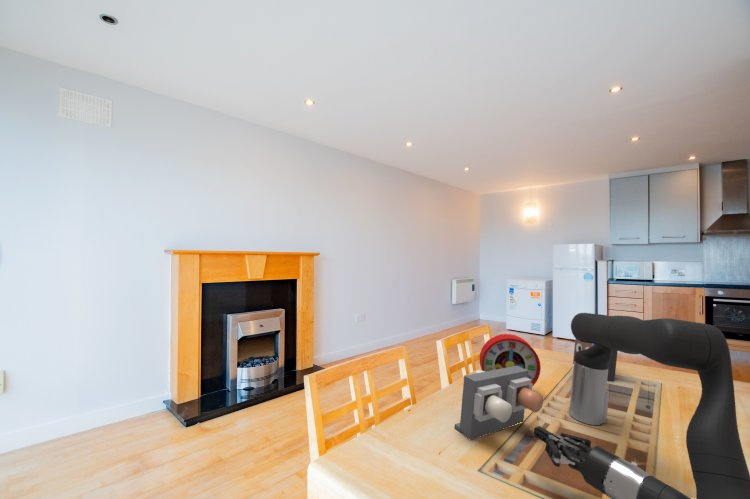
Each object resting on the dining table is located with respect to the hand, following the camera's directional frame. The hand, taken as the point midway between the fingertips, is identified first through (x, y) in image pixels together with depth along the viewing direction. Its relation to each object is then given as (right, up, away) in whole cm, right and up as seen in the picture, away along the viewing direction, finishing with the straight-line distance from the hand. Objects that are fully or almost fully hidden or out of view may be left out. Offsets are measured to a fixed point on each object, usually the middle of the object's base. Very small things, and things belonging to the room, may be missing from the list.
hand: (535, 430), depth 80 cm
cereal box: (+57, -12, +70) cm, 91 cm away
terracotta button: (+6, -2, +16) cm, 17 cm away
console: (-4, -9, +19) cm, 21 cm away
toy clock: (+10, -9, +45) cm, 47 cm away
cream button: (-6, -2, +9) cm, 11 cm away
